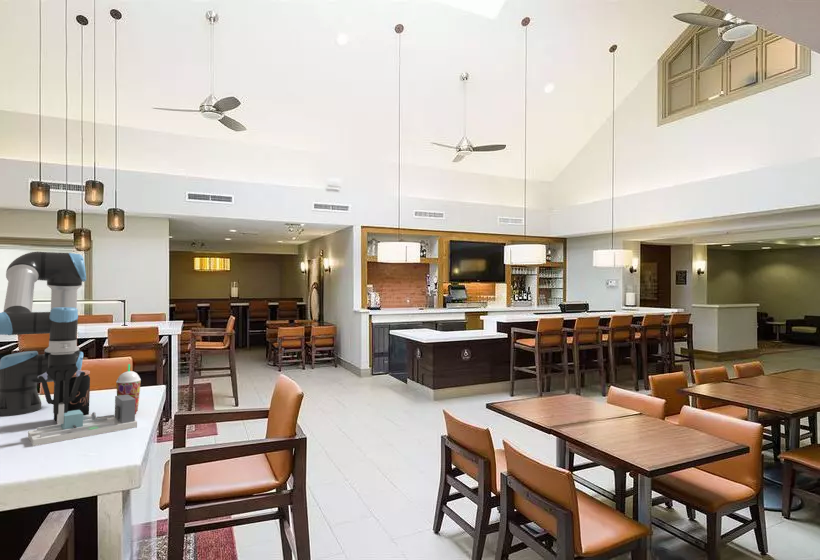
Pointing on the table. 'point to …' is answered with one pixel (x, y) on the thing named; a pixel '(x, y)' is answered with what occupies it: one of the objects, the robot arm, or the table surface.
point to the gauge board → (89, 424)
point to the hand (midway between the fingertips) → (60, 423)
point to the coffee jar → (82, 394)
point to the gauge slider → (75, 419)
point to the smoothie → (129, 385)
